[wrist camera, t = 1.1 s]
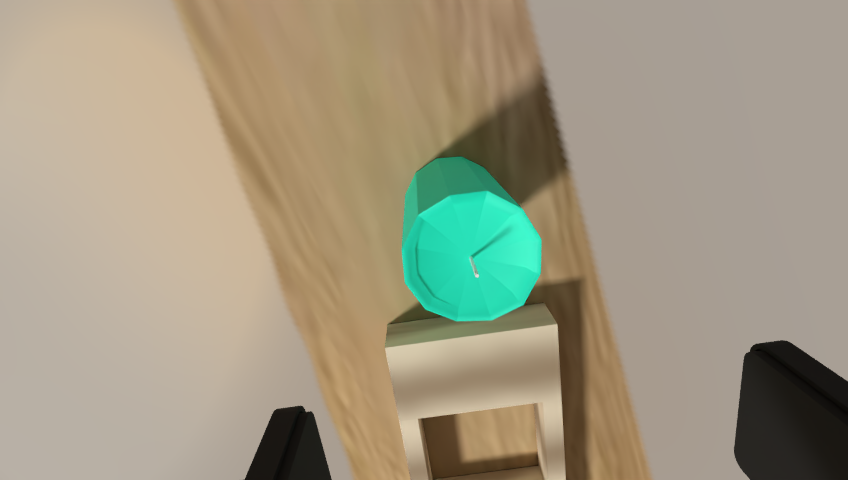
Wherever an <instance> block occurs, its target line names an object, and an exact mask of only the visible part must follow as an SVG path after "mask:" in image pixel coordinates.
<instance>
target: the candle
mask: <svg viewBox="0 0 848 480" xmlns="http://www.w3.org/2000/svg"><path fill="white" fill-rule="evenodd" d="M402 257H403V268H404V278H405V284H406V285H407V286H408V288H409V289H410V290H411V291H412V293H413V294H414V295H415V297H416V298H417V299H418V301H419V302H420V303H421V304H422V306H423V307H424V308H425V310H428V311H431V312H433V313H436V314H439V315H441V316H444V317H446V318H449V319H452V320H454V321H490V320H494V319H496V318H498V317H500V316H502V315H504V314H506V313H508V312H510V311H512V310H514V309H516V308H518V307H520V306H522V305H524V303H525V301H526V300H527V298H528V296H529V294H530V292H531V290H532V289H533V287H534V285H535V283H536V281H537V279H538V278H539V276H540V274H541V238H540V236H539V235H538V233H537V231H536V230H535V228H534V227H533V225H532V223H531V222H530V220H529V219H528V217H527V216H526V214H525V212H524V211H523V209H522V208H521V207H520V206H519V205H518V204H517V203H516V202H515V200H514V199H513V198H512V197H511V196H510V195H509V194H508V193H507V192H506V191H505V190H504V189H503V188H502V187H501V185H500V184H499V183H498V182H497V181H496V180H495V179H494V178H493V177H492V176H491V175H490V174H489V173H488V172H487V170H486V169H485V168H484V167H482V166H480V165H478V164H476V163H474V162H472V161H470V160H468V159H466V158H464V157H462V156H461V157H448V158H436V159H435V160H433V161H432V162H430V163H429V164H428V165H426V166H425V167H423V168H422V169H420V170H419V171H417V172H416V173H415V175H414V178H413V180H412V182H411V184H410V186H409V188H408V190H407V192H406V194H405V208H404V223H403V238H402Z"/></svg>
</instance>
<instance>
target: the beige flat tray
mask: <svg viewBox="0 0 848 480" xmlns="http://www.w3.org/2000/svg"><path fill="white" fill-rule="evenodd" d="M385 350H386V355H387V361H388V366H389V371H390V376H391V381H392V386H393V391H394V397H395V402H396V407H397V412H398V417H399V422H400V427H401V432H402V438H403V443H404V448H405V453H406V458H407V463H408V468H409V473H410V479H411V480H566V473H565V455H564V436H563V418H562V399H561V381H560V362H559V344H558V325H557V323H556V321H555V319H554V318H553V316H552V315H551V313H550V311H549V310H548V308H547V307H546V305H545V303H539V304H532V305H525V306H520V307H518V308H516V309H514V310H512V311H510V312H508V313H506V314H504V315H502V316H500V317H498V318H496V319H494V320H490V321H454V320H452V319H449V318H446V317H439V318H431V319H424V320H417V321H410V322H403V323H395V324H388V325H387V334H386V343H385ZM532 403H534V411H535V424H536V437H537V450H538V463H539V466H532V467H524V468H517V469H509V470H501V471H494V472H486V473H479V474H471V475H463V476H456V477H448V478H441V479H433V478H432V473H431V467H430V461H429V455H428V450H427V444H426V438H425V433H424V427H423V421H422V418H428V417H435V416H443V415H450V414H458V413H465V412H473V411H480V410H487V409H495V408H502V407H510V406H517V405H525V404H532Z"/></svg>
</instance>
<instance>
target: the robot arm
mask: <svg viewBox="0 0 848 480" xmlns="http://www.w3.org/2000/svg"><path fill="white" fill-rule="evenodd" d="M739 400H740V401H739V409H738V419H737V428H736V437H735V446H734V454H735V458H736V461H737V463H738V465H739V466H740V468H741V469H742V471H743V472H744V473H745V474H746V475H747V476H748V477H749V479H750V480H848V381H846V380H845V379H843V378H842V377H840V376H839V375H837V374H836V373H834V372H833V371H831V370H830V369H829V368H827V367H826V366H824V365H823V364H821V363H820V362H818V361H817V360H815V359H814V358H812V357H811V356H809V355H808V354H807V353H805V352H804V351H802V350H801V349H799V348H798V347H796V346H795V345H793V344H792V343H790V342H788V341H783V340H781V341H774V342H766V343H759V344H755V345H753V346H752V347H751V349H750V352H748V353H746V354H745V356H744V363H743V372H742V381H741V390H740V399H739ZM245 480H332V479H331V476H330V472H329V468H328V465H327V461H326V457H325V454H324V450H323V446H322V443H321V439H320V435H319V432H318V428H317V425H316V421H315V417H314V414H313V413H312V412H311V411H310V412H306V411H305V409H304V408H303V406H295V407H288V408H281V409H276V410H275V411H274V412H273V414H272V416H271V419H270V421H269V423H268V426H267V428H266V430H265V433H264V435H263V438H262V440H261V442H260V445H259V447H258V449H257V452H256V454H255V457H254V459H253V461H252V464H251V466H250V468H249V471H248V473H247V475H246V478H245Z"/></svg>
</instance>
